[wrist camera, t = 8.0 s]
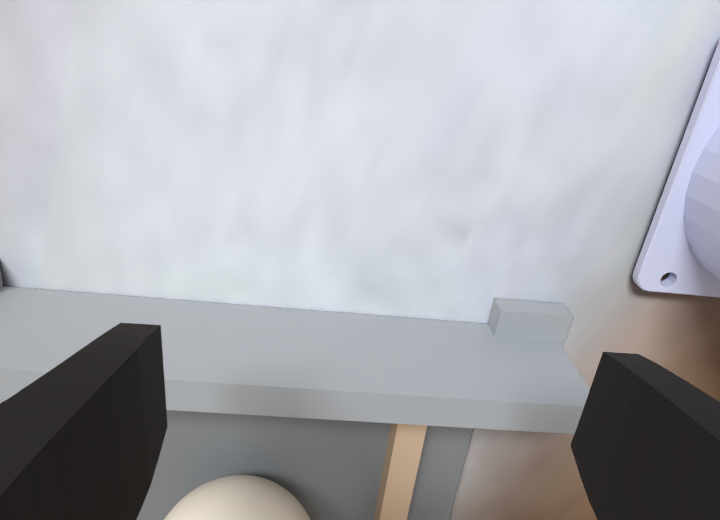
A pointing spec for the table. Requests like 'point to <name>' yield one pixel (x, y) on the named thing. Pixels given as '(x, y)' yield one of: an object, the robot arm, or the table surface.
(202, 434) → the resting mat
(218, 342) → the grey barrier bar
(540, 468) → the table surface
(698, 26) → the table surface
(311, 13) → the table surface
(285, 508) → the ball
